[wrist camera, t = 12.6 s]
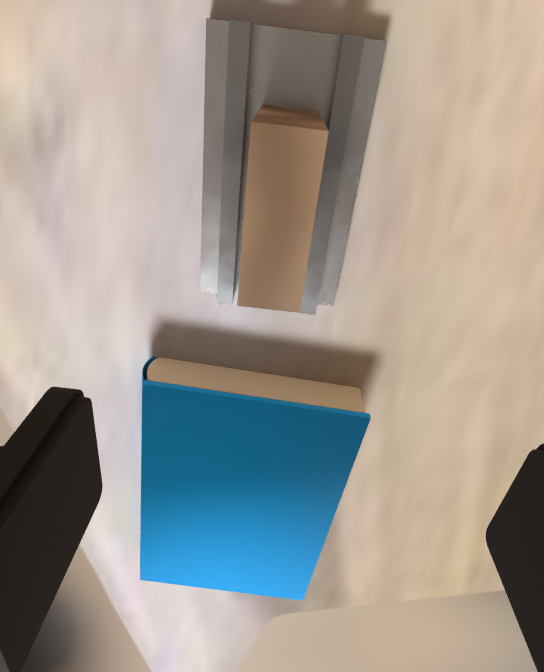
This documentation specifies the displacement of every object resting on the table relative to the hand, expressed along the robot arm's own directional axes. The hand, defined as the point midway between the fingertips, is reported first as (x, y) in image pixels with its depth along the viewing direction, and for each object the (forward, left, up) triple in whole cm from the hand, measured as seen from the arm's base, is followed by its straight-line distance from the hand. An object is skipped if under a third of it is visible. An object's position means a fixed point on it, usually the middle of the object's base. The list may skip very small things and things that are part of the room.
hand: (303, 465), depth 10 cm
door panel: (+1, -1, -20) cm, 20 cm away
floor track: (+1, -1, -21) cm, 21 cm away
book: (+2, +25, -22) cm, 34 cm away
